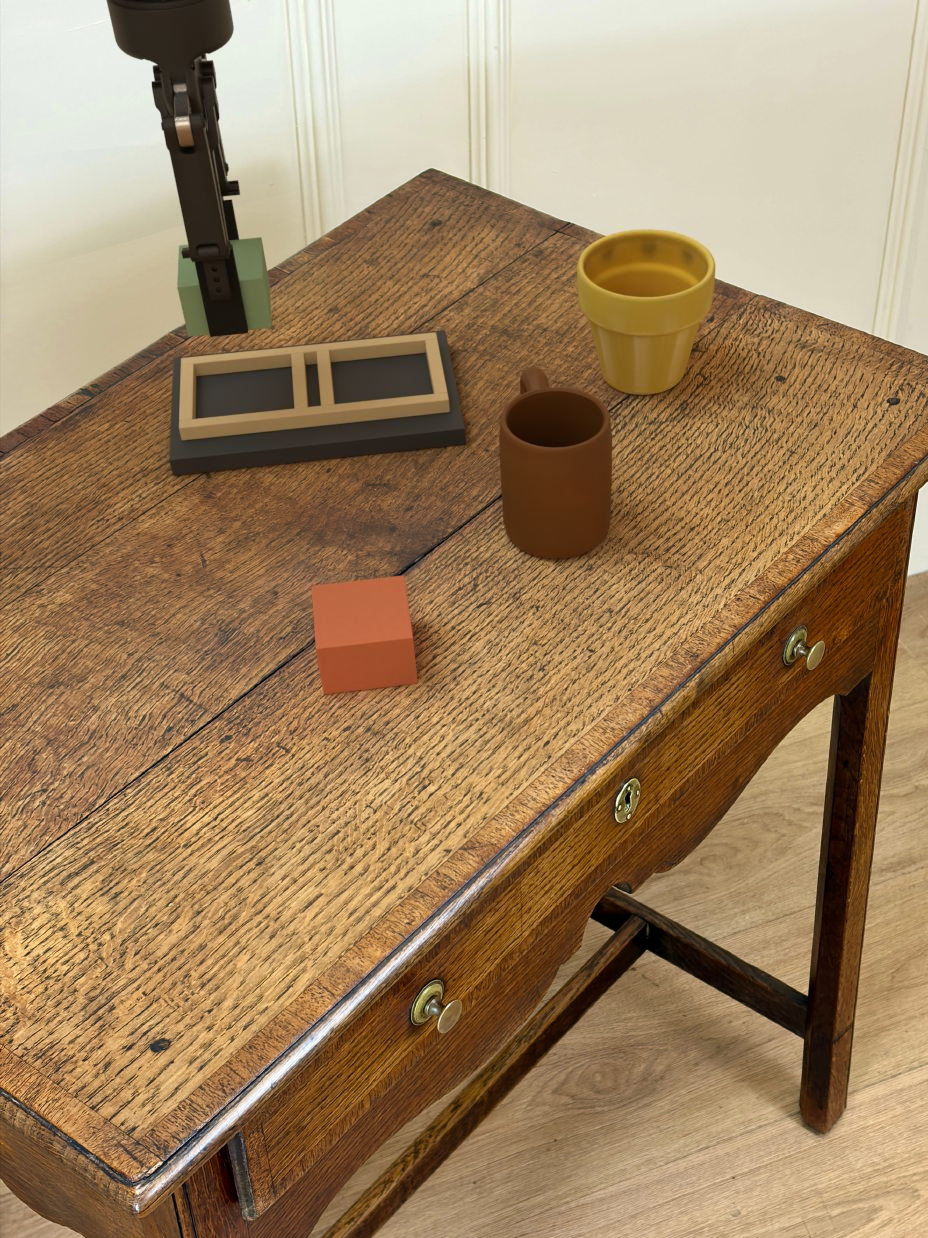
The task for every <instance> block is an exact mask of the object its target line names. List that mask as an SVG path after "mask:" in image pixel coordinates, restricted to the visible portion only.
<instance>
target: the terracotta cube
mask: <svg viewBox="0 0 928 1238" xmlns="http://www.w3.org/2000/svg"><path fill="white" fill-rule="evenodd" d="M311 598H312V610H313V611H312V614H313V628H314V643H315V652H316V659H317V663H318V671H319V675H320V682H321V686H322V693H323V695H334V694H341V693H348V692H357V691H366V690H375V689H381V688H390V687H398V686H399V687H400V686H407V685H414V684H418V683H419V679H418V678H419V677H418V671H417V660H416V652H415V644H414V643H415V641H414V633H413V627H412V621H411V612H410V607H409V606H410V605H409V598H408V591H407V583H406V576H405V575H404V574H403V575H395V576H387V577H385V576H384V577H377V578H369V579H361V580H351V581H341V582H333V583H325V584H316V585H311Z"/></svg>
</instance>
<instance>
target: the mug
mask: <svg viewBox="0 0 928 1238" xmlns="http://www.w3.org/2000/svg"><path fill="white" fill-rule="evenodd" d="M519 377H520V379H519V395H517V396H516V397H515V398H513V399H512V400H510V401H509V402H508V403H507V404H506V405H505V407H504V409H503V410H502V412H501V415H500V418H499V437H498V441H499V442H498V444H499V445H498V451H499V471H500V472H499V473H500V490H501V503H502V504H501V505H502V519H503V520H502V521H503V526H504V529H505V533H506V535H507V537H508V538H509V540H510V541H511V542H512V543H513V545H514V546H515V547H517V548H518V549H519V550H521V551H523V552H524V553H526V554H529V555H531V556H534V557H539V558H544V559H554V560H557V559H559V560H560V559H569V558H574V557H578V556H581V555H583V554H587V553H588V552H590V551H591V550H593V549H595V548H596V547H597V546H598V545H599V544H600V543H602V541H603V540H604V538H605V537H606V536H607V533H608V532H609V528H610V524H611V516H612V515H611V514H612V510H611V509H612V485H613V483H612V482H613V481H612V480H613V479H612V477H613V435H612V421H611V414H610V411H609V410H608V408H607V406H606V404H605V403H604V402H603V401H602V400H600V399H599V398H598V397H596V396H595V395H593V394H591V393H589V392H587V391H583V390H582V389H576V388H572V387H565V386H563V387H562V386H553V387H552V386H550V383H549V379H548V377H547V375H546V373H545V372H544V371H543V370H542V368H540V367H538V366H533V365H531V366H527V367H526V368H525V369H524V370H523V371H522V373H521V375H520V376H519Z"/></svg>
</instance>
